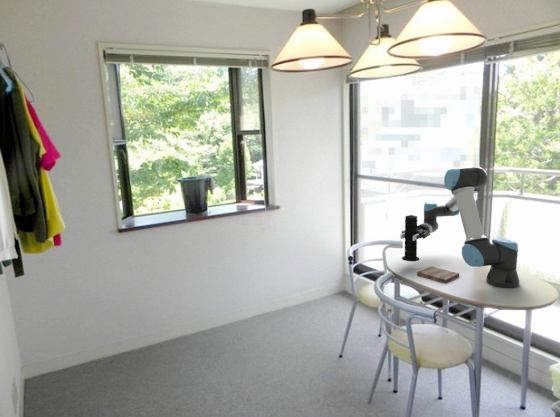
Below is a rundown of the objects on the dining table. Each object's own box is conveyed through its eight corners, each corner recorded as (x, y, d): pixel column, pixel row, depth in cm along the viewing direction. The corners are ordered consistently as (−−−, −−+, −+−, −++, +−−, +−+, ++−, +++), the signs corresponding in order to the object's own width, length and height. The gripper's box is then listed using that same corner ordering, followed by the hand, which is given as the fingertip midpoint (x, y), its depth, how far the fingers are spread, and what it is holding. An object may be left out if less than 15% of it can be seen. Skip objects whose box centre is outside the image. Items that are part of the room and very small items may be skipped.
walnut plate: (459, 276, 219) (459, 273, 219) (445, 283, 211) (445, 279, 211) (431, 269, 233) (431, 266, 232) (417, 275, 224) (417, 271, 224)
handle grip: (421, 261, 230) (417, 256, 240) (422, 216, 225) (418, 213, 235) (403, 261, 231) (400, 256, 241) (404, 216, 226) (400, 213, 236)
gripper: (439, 237, 240) (423, 246, 223) (408, 233, 253) (391, 241, 236) (439, 225, 239) (424, 233, 222) (408, 222, 252) (391, 229, 235)
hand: (407, 237), depth 229 cm, fingers closed on handle grip, 7 cm apart
